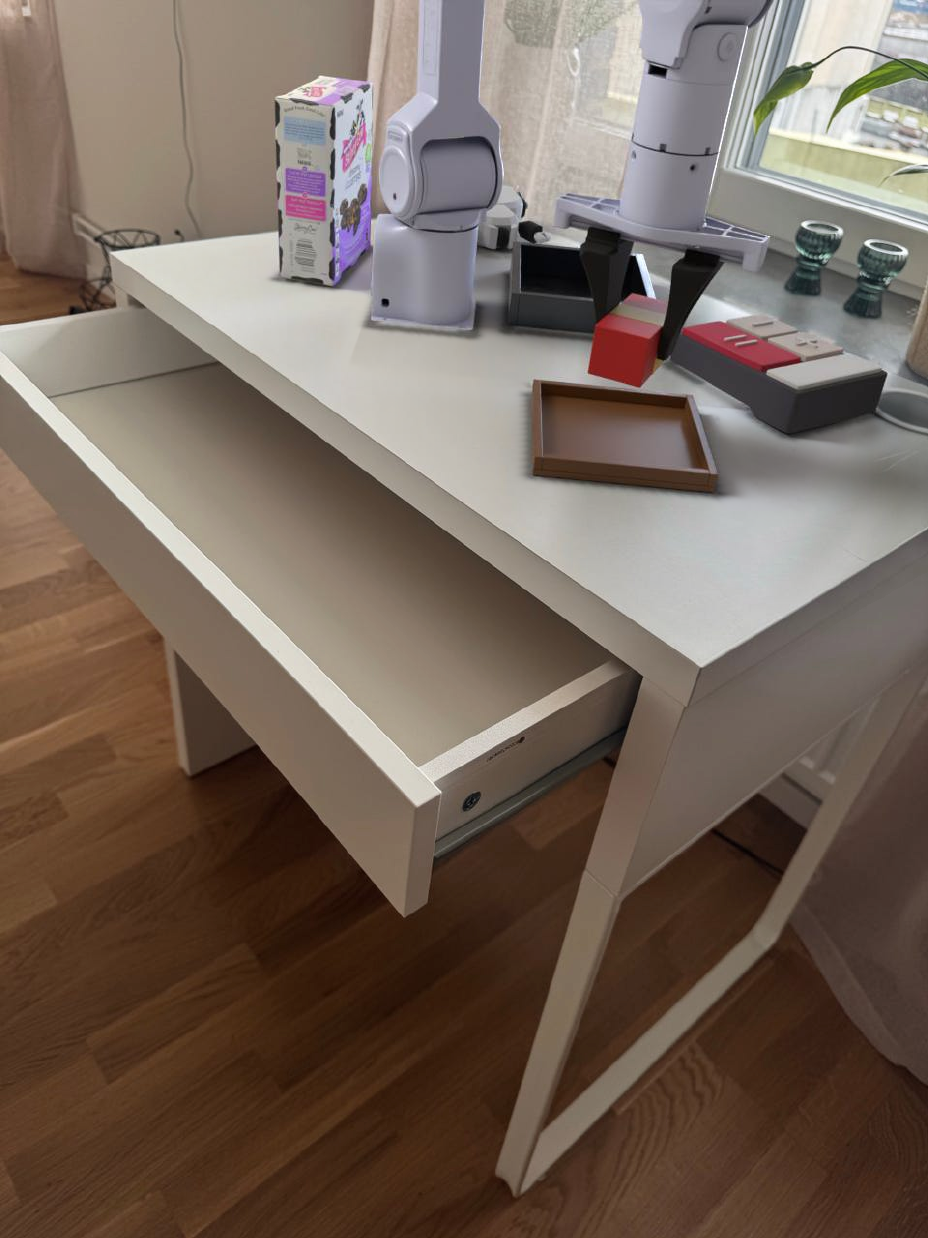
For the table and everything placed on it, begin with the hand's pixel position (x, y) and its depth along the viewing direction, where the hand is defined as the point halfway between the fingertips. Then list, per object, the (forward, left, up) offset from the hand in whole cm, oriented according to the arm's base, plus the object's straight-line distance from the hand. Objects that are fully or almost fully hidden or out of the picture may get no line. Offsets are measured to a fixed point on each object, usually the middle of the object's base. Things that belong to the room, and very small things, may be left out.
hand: (634, 347), depth 70 cm
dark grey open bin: (-2, +28, -8) cm, 29 cm away
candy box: (-28, +34, -8) cm, 45 cm away
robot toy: (-12, +48, -8) cm, 50 cm away
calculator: (+14, +13, -8) cm, 21 cm away
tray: (0, 0, -8) cm, 8 cm away
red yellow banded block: (0, 0, -1) cm, 1 cm away
